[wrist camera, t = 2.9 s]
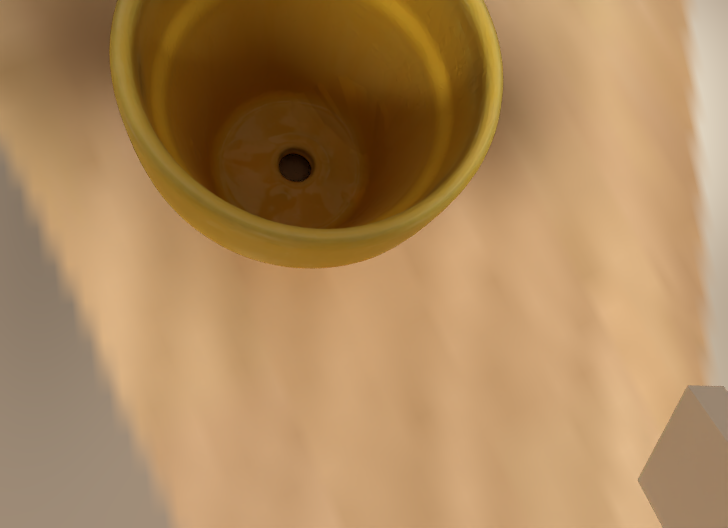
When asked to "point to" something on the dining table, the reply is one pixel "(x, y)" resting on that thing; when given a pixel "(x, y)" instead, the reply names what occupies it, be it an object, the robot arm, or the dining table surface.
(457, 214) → the dining table surface
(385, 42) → the plant pot
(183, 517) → the dining table surface
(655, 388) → the dining table surface
